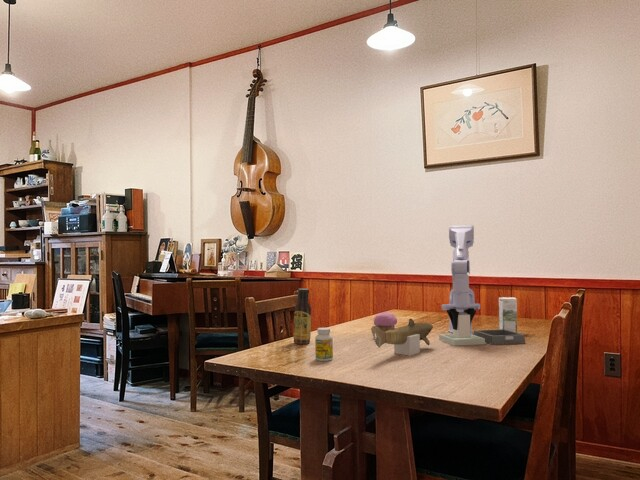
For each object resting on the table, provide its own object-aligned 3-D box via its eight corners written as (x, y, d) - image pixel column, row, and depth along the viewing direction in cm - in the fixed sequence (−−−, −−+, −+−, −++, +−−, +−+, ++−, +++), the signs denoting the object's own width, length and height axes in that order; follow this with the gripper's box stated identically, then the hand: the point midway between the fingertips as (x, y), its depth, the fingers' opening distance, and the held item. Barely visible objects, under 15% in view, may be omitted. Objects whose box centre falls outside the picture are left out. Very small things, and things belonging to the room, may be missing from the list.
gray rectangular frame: (473, 338, 187) (473, 330, 187) (504, 336, 190) (504, 329, 190) (493, 345, 174) (493, 336, 174) (525, 343, 176) (525, 335, 176)
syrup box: (513, 332, 201) (512, 296, 201) (517, 334, 195) (517, 298, 195) (498, 331, 202) (498, 296, 202) (502, 334, 196) (502, 298, 196)
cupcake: (400, 337, 190) (400, 311, 190) (391, 340, 183) (391, 314, 183) (379, 335, 195) (379, 310, 195) (369, 338, 187) (369, 312, 188)
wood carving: (360, 361, 149) (359, 324, 150) (419, 344, 175) (419, 313, 176) (384, 365, 143) (384, 327, 144) (442, 347, 169) (441, 315, 170)
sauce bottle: (290, 344, 177) (290, 289, 178) (297, 341, 183) (297, 287, 184) (307, 345, 175) (307, 289, 175) (313, 342, 181) (313, 288, 181)
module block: (453, 335, 182) (452, 312, 182) (464, 334, 183) (463, 311, 183) (458, 337, 177) (458, 313, 178) (470, 336, 178) (469, 313, 178)
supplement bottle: (334, 358, 154) (334, 327, 154) (330, 361, 149) (329, 330, 149) (318, 357, 155) (318, 326, 156) (313, 360, 150) (313, 329, 150)
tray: (439, 339, 185) (439, 334, 185) (468, 338, 187) (468, 333, 187) (454, 345, 173) (454, 339, 173) (484, 344, 175) (484, 338, 175)
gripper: (447, 293, 175) (448, 331, 175) (484, 292, 178) (485, 330, 178) (439, 292, 182) (439, 328, 182) (474, 291, 185) (475, 327, 185)
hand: (461, 329), depth 180 cm, fingers closed on module block, 4 cm apart
